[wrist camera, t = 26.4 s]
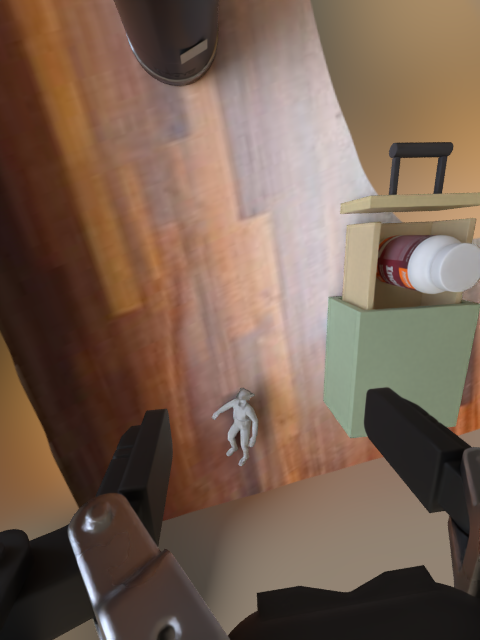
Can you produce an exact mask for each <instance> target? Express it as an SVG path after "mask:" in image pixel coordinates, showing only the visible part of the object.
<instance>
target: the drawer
mask: <svg viewBox="0 0 480 640" xmlns="http://www.w3.org/2000/svg"><path fill="white" fill-rule="evenodd" d="M452 150H453V144H452V143H451V142H437V143H436V142H433V143H430V142H429V143H393V144H392V146H391V148H390V150H389V156H390V157H391V158H393V159H392V169H391V178H390V188H389V195H383V196H382V195H381V196H380V195H378V196H368V197H365V198H361V199H357V200H353V201H350V202H346V203H342V204H341V211H340V214H351V213H381V212H408V211H409V212H410V211H438V210H447V209H454V208H462V207H470V206H478V205H480V193H453V194H452V193H451V194H442V189H443V182H444V176H445V169H446V162H447V156H449V155H450V154H451V152H452ZM413 157H414V158H417V157H439V158H438V165H437V172H436V179H435V187H434V193H433V194H418V195H417V194H416V195H397V185H398V176H399V166H400V158H413ZM475 223H476V219H475V218H472V219H459V220H446V221H435V222H411V223H410V222H409V223H383V224H381V222H371V223H362V224H353V225H347V232H346V247H345V263H344V279H343V294H342V301H345V302H347V303H349V304H351V305H354V306H356V307H358V308H360V309H362V310H373V309H388V308H402V307H417V306H431V305H446V304H460V303H461V299H462V294H463V291H462V292H450V291H444V292H441V293H437V294H427V293H423V292H418V291H414V290H410V289H406V288H402V287H398V286H395V285H391V284H387V283H384V282H381V281H379V280H378V279H376V272H377V262H378V251H379V242H381V241H382V240H383V239H385V238H387V237H390V236H396V235H447V236H451V237H454V238H456V239H458V240H459V241H460V242H461V243H472V240H473V234H474V229H475Z"/></svg>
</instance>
